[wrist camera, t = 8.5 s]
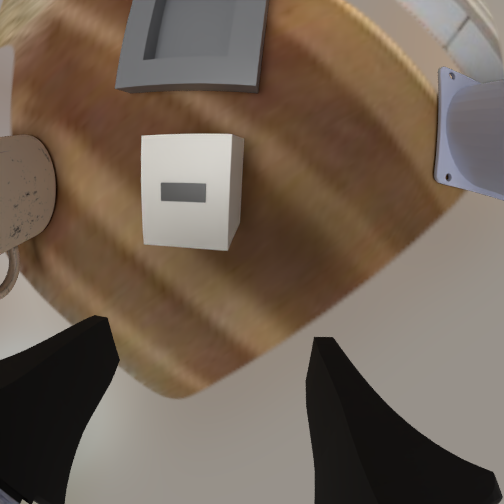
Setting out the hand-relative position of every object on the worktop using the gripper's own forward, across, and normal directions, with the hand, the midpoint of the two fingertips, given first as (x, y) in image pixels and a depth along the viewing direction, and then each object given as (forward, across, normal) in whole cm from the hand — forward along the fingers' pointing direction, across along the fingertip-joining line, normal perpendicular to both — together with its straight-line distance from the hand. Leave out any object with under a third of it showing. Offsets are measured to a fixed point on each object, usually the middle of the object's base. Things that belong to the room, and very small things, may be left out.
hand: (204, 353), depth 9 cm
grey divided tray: (+10, +2, -18) cm, 20 cm away
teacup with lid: (+10, +18, -4) cm, 21 cm away
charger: (+10, +2, -5) cm, 11 cm away
